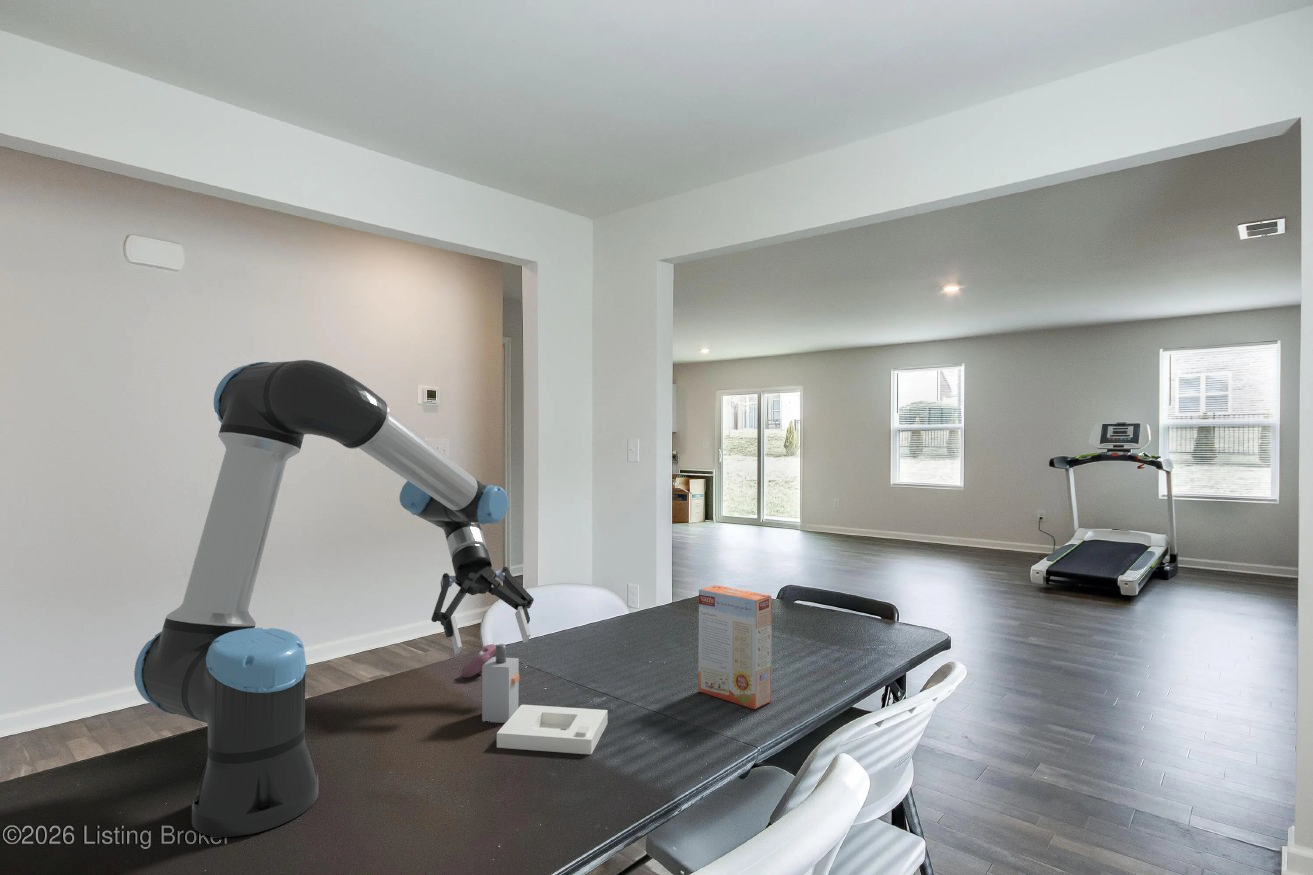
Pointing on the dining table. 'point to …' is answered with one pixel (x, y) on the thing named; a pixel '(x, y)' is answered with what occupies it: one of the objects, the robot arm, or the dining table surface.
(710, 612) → the cracker box
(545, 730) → the socket plate
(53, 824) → the dining table surface
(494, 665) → the plug
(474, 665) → the video game controller
